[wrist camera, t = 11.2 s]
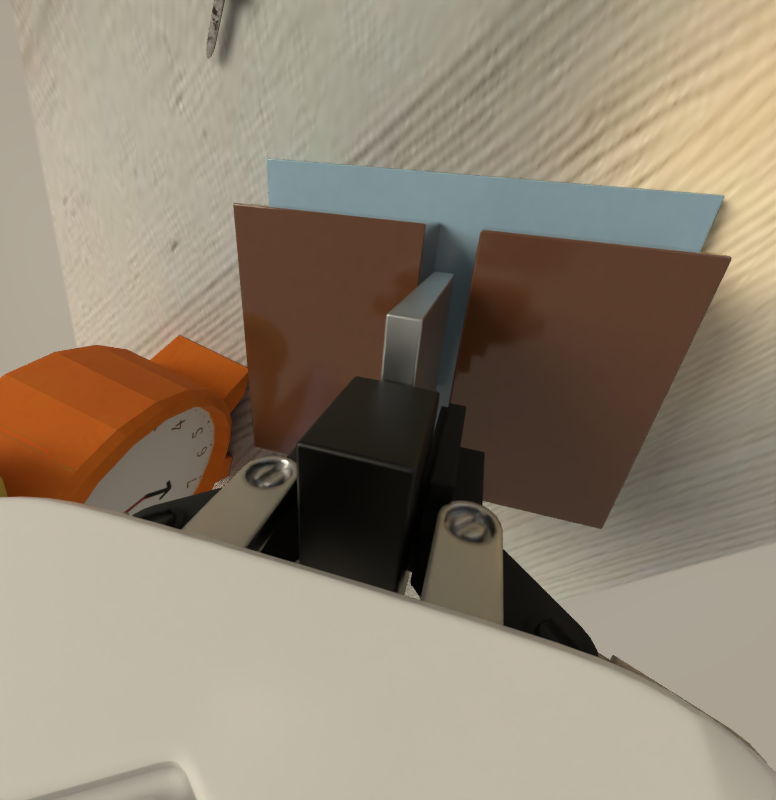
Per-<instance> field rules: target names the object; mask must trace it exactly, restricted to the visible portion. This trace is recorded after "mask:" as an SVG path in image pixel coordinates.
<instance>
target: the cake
mask: <svg viewBox="0 0 776 800" xmlns="http://www.w3.org/2000/svg"><path fill="white" fill-rule="evenodd" d="M267 174H268V194H269V205H261V204H242V203H234V204H233V206H234V218H235V229H236V240H237V252H238V263H239V274H240V285H241V297H242V308H243V319H244V330H245V342H246V353H247V364H248V375H249V387H250V398H251V409H252V421H253V432H254V443H255V447H258V448H262V449H266V450H271V451H275V452H279V453H283V454H287V455H289V454H290V453H291V452H292V451H293V449H294V448H295V447H296V444H297V442H298V440H299V439H300V438H301V437H302V436H303V435H304V434H305V432H306V431H307V430H308V429H309V428H310V427H311V426H312V425H313V423H314V422H315V421H316V420H317V419H318V418H319V417H320V415H321V414H322V413H323V412H324V411H325V410H326V409H327V407H328V406H329V405H330V404H331V403H332V402H333V401H334V400H335V398H336V397H337V396H338V395H339V394H340V393H341V392H342V390H343V389H344V388H345V387H346V386H347V385H348V384H349V383H350V381H351V380H352V379H353V378H354V377H356V376H359V377H364V378H370V379H375V380H381V368H382V357H383V346H384V334H385V323H386V315H387V313H388V312H390V311H391V310H392V309H393V308H394V307H395V306H396V305H397V304H399V303H400V302H401V301H402V300H403V299H404V298H405V297H406V296H408V295H409V294H410V293H411V292H412V291H413V290H414V289H415V288H417V287H418V286H419V285H420V284H421V283H422V282H423V281H424V280H425V279H427V278H428V277H429V276H430V275H431V274H432V273H433V272H441V273H449V274H454V283H453V289H452V295H451V301H450V307H449V313H448V319H447V325H446V331H445V337H444V343H443V349H442V356H441V362H440V368H439V374H438V380H437V386H436V391H437V392H439V394H440V398H439V404H438V410H437V416H436V421H435V427H436V423H437V420H438V416H439V413H440V409H441V406H444V407H448V406H449V403H452V404H457V405H462V406H467V407H466V413H465V420H464V426H463V433H462V439H461V446H460V447H463V448H468V449H473V450H477V451H482V452H484V453H485V459H484V481H483V501H486V502H490V503H494V504H498V505H502V506H507V507H511V508H515V509H519V510H523V511H528V512H532V513H536V514H540V515H544V516H549V517H553V518H557V519H561V520H565V521H569V522H574V523H578V524H582V525H586V526H590V527H595V528H599V529H602V528H603V526H604V524H605V522H606V520H607V517H608V515H609V513H610V511H611V509H612V507H613V505H614V503H615V501H616V499H617V497H618V495H619V493H620V490H621V488H622V486H623V484H624V482H625V480H626V478H627V476H628V474H629V472H630V470H631V468H632V465H633V463H634V461H635V459H636V457H637V455H638V453H639V451H640V449H641V447H642V445H643V443H644V440H645V438H646V436H647V434H648V432H649V430H650V428H651V426H652V424H653V422H654V420H655V418H656V415H657V413H658V411H659V409H660V407H661V405H662V403H663V401H664V399H665V397H666V395H667V393H668V390H669V388H670V386H671V384H672V382H673V380H674V378H675V376H676V374H677V372H678V370H679V368H680V365H681V363H682V361H683V359H684V357H685V355H686V353H687V351H688V349H689V347H690V345H691V343H692V341H693V338H694V336H695V334H696V332H697V330H698V328H699V326H700V324H701V322H702V320H703V318H704V316H705V313H706V311H707V309H708V307H709V305H710V303H711V301H712V299H713V297H714V295H715V293H716V291H717V288H718V286H719V284H720V282H721V280H722V278H723V276H724V274H725V272H726V270H727V268H728V266H729V263H730V261H731V257H730V256H726V255H720V254H714V253H708V252H702V251H701V249H702V247H703V244H704V242H705V240H706V238H707V235H708V233H709V231H710V229H711V226H712V224H713V222H714V219H715V217H716V215H717V213H718V210H719V208H720V206H721V204H722V201H723V199H724V195H713V194H701V193H689V192H676V191H664V190H652V189H639V188H627V187H614V186H602V185H590V184H577V183H565V182H553V181H540V180H528V179H516V178H503V177H491V176H479V175H466V174H454V173H442V172H429V171H417V170H405V169H392V168H380V167H368V166H355V165H343V164H330V163H318V162H306V161H293V160H281V159H269V158H268V159H267ZM435 427H434V430H435ZM433 434H434V433H433Z"/></svg>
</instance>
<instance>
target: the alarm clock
mask: <svg viewBox="0 0 776 800" xmlns="http://www.w3.org/2000/svg"><path fill="white" fill-rule="evenodd" d="M248 378H249V375H248V368H247V367H244V366H242V365H240V364H238V363H236V362H234V361H232V360H230V359H228V358H226V357H224V356H222V355H219V354H217V353H215V352H213V351H211V350H209V349H207V348H205V347H203V346H201V345H199V344H197V343H194V342H192V341H190V340H188V339H186V338H184V337H182V336H180V335H179V336H178V337H177V338H175V339H174V340H173V341H172V342H171V343H170V344H168V345H167V346H166V347H165V348H164V349H163V350H161V351H160V352H159V353H158V354H157V355H156V356H154V357H153V358H152V359H151V360H148V359H145V358H143V357H141V356H139V355H137V354H135V353H133V352H131V351H129V350H126V349H120V348H114V347H107V346H101V345H93V346H87V347H81V348H76V349H70V350H64V351H58V352H54V353H52V354H49V355H48V356H45V357H43V358H41V359H38V360H36V361H34V362H32V363H29V364H27V365H25V366H23V367H20V368H18V369H16V370H14V371H11V372H9V373H7V374H5V375H4V376H2V377H1V378H0V497H39V498H52V499H58V500H65V501H71V502H77V503H81V504H85V505H90V506H94V507H98V508H102V509H107V510H111V511H114V512H118V513H129V516H132V515H133V514H135V513H137V512H139V511H141V510H142V509H145V508H147V507H150V506H153V505H157V504H160V503H164V502H168V501H172V500H176V499H180V498H184V497H187V496H191V495H195V494H199V493H203V492H207V491H211V490H212V488H213V486H214V484H215V483H216V482H218V481H220V480H222V479H223V478H225V477H227V476H228V474H229V470H230V465H231V460H232V456H230V455H228V454H227V450H228V447H229V444H230V438H231V425H232V420H231V417H230V413H231V412H232V411H233V409H234V408H235V407H236V405H237V404H238V403H239V402H240V400H241V399H242V398H243V397H244V395H245V392H246V387H247V383H248Z"/></svg>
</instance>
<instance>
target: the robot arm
mask: <svg viewBox="0 0 776 800" xmlns="http://www.w3.org/2000/svg"><path fill="white" fill-rule="evenodd" d="M466 407H467V406H462V405H457V404H452V403H449V406H448V407H444V406H441V409H440V413H439V416H438V420H437V423H436V427H435V430H434V434H433V439H432V445H431V450H430V454H429V457H428V461H427V464H426V468H425V472H424V475H423V480H422V484H421V490H420V496H419V502H418V508H417V514H416V520H415V526H414V532H413V538H412V544H411V550H410V556H409V562H408V568H407V571H410V572H412V576H411V582H410V583H411V586H413V588H414V589H415V591H416V592H417V594H418V595H419V596H420V598H421V599H420V600H418V599H415V598H411V597H408V596H405V595H401V594H398V593H395V592H391V591H388V590H385V589H381V588H378V587H375V586H372V585H368V584H365V583H361V582H358V581H355V580H351V579H348V578H344V577H341V576H338V575H334V574H331V573H328V572H324V571H321V570H317V569H314V568H311V567H307V566H304V565H300V564H299V536H298V500H297V463H296V447H295V448H294V449H293V451H292V452H291V453H290V454H289V455H288V456H287V458H286V457H283V456H264V457H260V458H257V459H255V460H252V461H250V462H249V463H247V464H246V465H245V466H243V467H242V468H241V469H240V470H239V471H238V472H237V473H236V474H235V475H234V477H233V478H232V479H231V480H230V481H229V482H228V483H227V484H226V485H225V486H224V487H222V488H218V489H214V490H211V491H207V492H203V493H199V494H195V495H191V496H187V497H184V498H180V499H176V500H172V501H168V502H164V503H160V504H157V505H153V506H150V507H147V508H145V509H142V510H141V511H139V512H137V513H135V514H133V515H132V516H129V513H118V512H114V511H111V510H107V509H102V508H98V507H94V506H90V505H85V504H81V503H77V502H71V501H65V500H58V499H52V498H39V497H0V800H776V772H775V771H774V770H773V769H772V768H771V767H770V766H769V765H768V764H767V763H766V761H765V760H764V759H763V758H762V757H761V756H760V755H759V753H757V751H756V750H755V749H754V748H753V747H752V746H751V745H750V744H749V743H748V742H747V741H745V740H744V739H743V738H742V737H740V736H739V735H738V734H736V733H735V732H734V731H733V730H731V729H730V728H728V727H727V726H725V725H724V724H722V723H720V722H719V721H717V720H716V719H714V718H713V717H711V716H709V715H708V714H706V713H705V712H703V711H701V710H700V709H698V708H697V707H695V706H694V705H692V704H690V703H689V702H687V701H686V700H684V699H682V698H681V697H679V696H678V695H676V694H674V693H673V692H671V691H669V690H668V689H667V688H665V687H663V686H662V685H660V684H659V683H657V682H655V681H654V680H652V679H651V678H649V677H647V676H646V675H644V674H643V673H641V672H640V671H638V670H636V669H635V668H633V667H631V666H630V665H628V664H627V663H625V662H624V661H622V660H620V659H619V658H617V657H616V656H614V655H613V656H612V657H611V659H610V660H609V659H608V658H606V657H604V656H603V655H601V654H600V653H598V652H597V649H596V648H595V645H594V644H593V642H592V640H591V638H590V637H589V636H588V634H587V633H586V632H585V631H584V630H583V628H582V627H581V626H580V625H579V624H578V623H577V622H576V621H575V620H574V619H573V618H572V617H571V616H570V615H569V614H568V613H567V612H566V611H565V610H564V609H563V608H562V607H561V606H560V605H559V604H558V603H557V602H556V601H555V600H554V599H553V598H552V597H551V596H550V595H549V594H548V593H547V592H546V591H545V590H544V589H543V588H542V587H541V586H540V585H539V584H538V583H537V582H536V581H535V580H534V579H533V578H532V577H531V576H530V575H529V574H528V573H527V572H526V571H525V570H524V569H523V568H522V567H521V566H520V565H519V564H518V563H517V562H516V561H515V560H514V559H513V558H512V557H511V556H510V555H509V554H508V553H507V552H506V551H505V550H504V549H503V530H502V526H501V523H500V521H499V520H498V518H497V516H496V515H495V514H493V513H492V512H491V511H490V510H489V509H487V508H486V507H484V506H482V502H483V481H484V459H485V453H484V452H482V451H477V450H473V449H468V448H463V447H460V446H461V439H462V433H463V426H464V420H465V413H466Z"/></svg>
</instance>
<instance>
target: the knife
mask: <svg viewBox="0 0 776 800" xmlns="http://www.w3.org/2000/svg"><path fill="white" fill-rule="evenodd" d="M224 2H225V0H214V4H213V10H212V15H211V21H210V27H209V33H208V39H207V47H206V50H207V58H210V57H211V55H212V53H213V51H214V49H215V45H216V40H217V35H218V31H219V26H220V21H221V16H222V11H223V6H224Z"/></svg>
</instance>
